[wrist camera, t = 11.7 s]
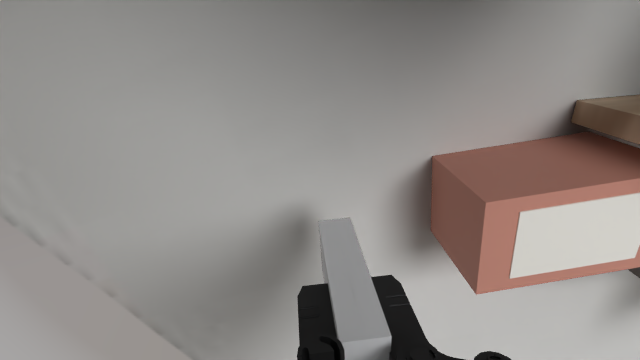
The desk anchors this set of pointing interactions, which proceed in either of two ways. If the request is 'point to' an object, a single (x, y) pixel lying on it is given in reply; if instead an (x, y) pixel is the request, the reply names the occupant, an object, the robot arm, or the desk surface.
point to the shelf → (611, 120)
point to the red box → (538, 210)
